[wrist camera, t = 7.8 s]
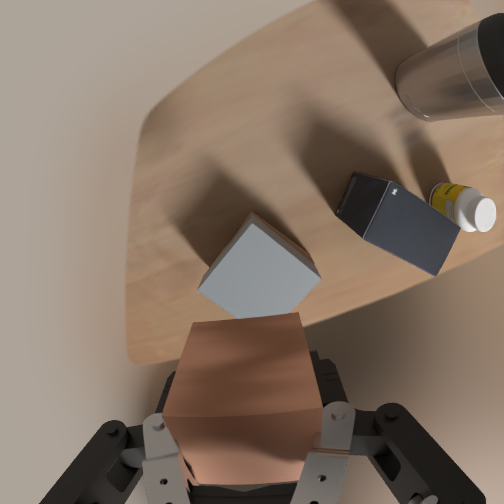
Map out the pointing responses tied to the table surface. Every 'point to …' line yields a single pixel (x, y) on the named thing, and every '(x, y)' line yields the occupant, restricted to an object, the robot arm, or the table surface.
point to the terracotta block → (245, 400)
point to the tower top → (258, 274)
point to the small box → (397, 221)
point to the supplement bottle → (464, 206)
